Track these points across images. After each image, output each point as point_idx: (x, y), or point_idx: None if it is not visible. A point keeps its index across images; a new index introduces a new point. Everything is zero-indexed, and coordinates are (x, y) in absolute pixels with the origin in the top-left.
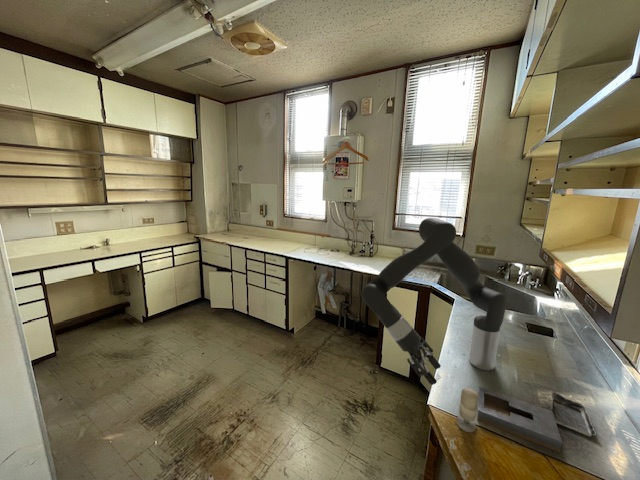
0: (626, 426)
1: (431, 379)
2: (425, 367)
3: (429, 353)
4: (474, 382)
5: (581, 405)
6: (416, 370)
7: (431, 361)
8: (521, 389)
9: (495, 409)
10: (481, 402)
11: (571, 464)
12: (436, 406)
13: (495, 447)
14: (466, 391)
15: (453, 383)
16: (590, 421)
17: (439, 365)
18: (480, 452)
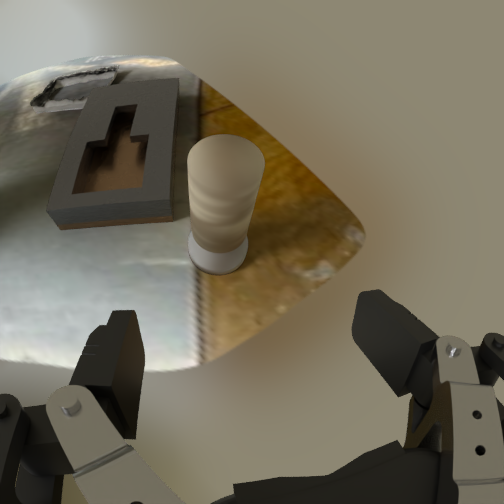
0: (78, 60)
1: (413, 315)
2: (470, 367)
3: (135, 455)
4: (12, 245)
5: (54, 80)
6: (499, 412)
7: (132, 401)
8: (17, 151)
9: (111, 179)
10: (123, 195)
11: (197, 91)
12: (194, 351)
13: None
14: (219, 171)
15: (36, 308)
16: (89, 70)
17: (130, 317)
18: (291, 208)
